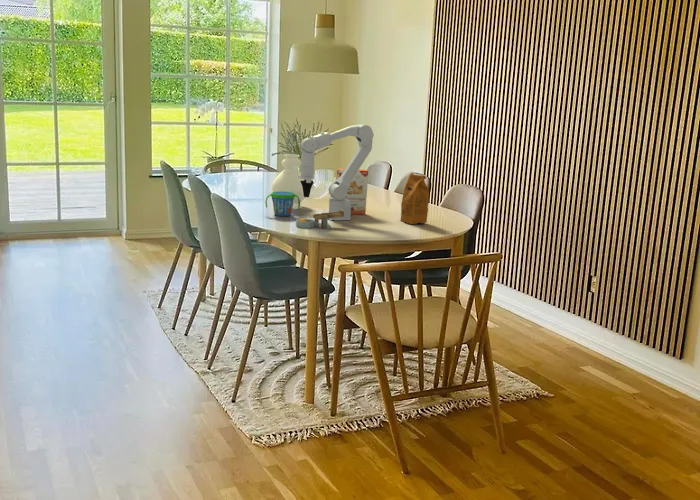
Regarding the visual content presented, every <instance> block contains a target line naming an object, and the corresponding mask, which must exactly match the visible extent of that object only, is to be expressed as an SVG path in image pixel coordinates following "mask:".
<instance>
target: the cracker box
mask: <svg viewBox="0 0 700 500" xmlns="http://www.w3.org/2000/svg"><path fill="white" fill-rule="evenodd" d="M345 169H346V168H336V172H335V173H336V176H335V177H336V178H335V181H336V180H337V179H338V178H339V177H340V176H341V175H342V173H343V172H344V170H345ZM368 180H369V170H367V169H365V168H362V169H360V168H359V170H358V171H357V173H356V174H355V176H354V177H353V179H352V181H351V182H350V186H349V189H348V191H347V196H346V197H345V198H346V199H348V200H350V203H351V215H362V216H363V215H366V211H367V198H368V197H367V195H368V183H369V182H368Z"/></svg>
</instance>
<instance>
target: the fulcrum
mask: <svg viewBox="0 0 700 500" xmlns="http://www.w3.org/2000/svg"><path fill="white" fill-rule="evenodd" d="M313 220H314V226H315V227H314V228H319V229H320V228H331V229H332V226H331V225H330V223H328V221H329V219H328V216H324V219H322V220H321V221H320V220H316V219H315V218H313ZM319 221H320V222H319Z"/></svg>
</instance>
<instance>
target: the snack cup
mask: <svg viewBox="0 0 700 500" xmlns="http://www.w3.org/2000/svg"><path fill="white" fill-rule="evenodd" d="M295 196H296V197H298V196H297V195H296V194H295V193H293V192H286V191H277V192H273V191H272V192H270V194H268V195H267V196H266V198H265V202H264V203H265V207H266V209H268V198H270V197H271V200H272V205H273V206H272V207H273V214H274V215H275V216H277V217H288V216H290V215H291V216H292V210H293V209H292V206H293V199H294V197H295ZM300 205H301V203H300V199H299V197H298V208H299V207H300Z"/></svg>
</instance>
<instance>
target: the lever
mask: <svg viewBox="0 0 700 500" xmlns="http://www.w3.org/2000/svg"><path fill="white" fill-rule="evenodd" d="M324 216H328V220H330V219H329V218H337V217H344V211H343V210H342V209H341V211H336V212H329V211H328V212H321V213H319V212H318V213H317V212H316V213H311V217H312V218H313V219H316V220H319V221H320V220H322V219H324Z"/></svg>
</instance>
